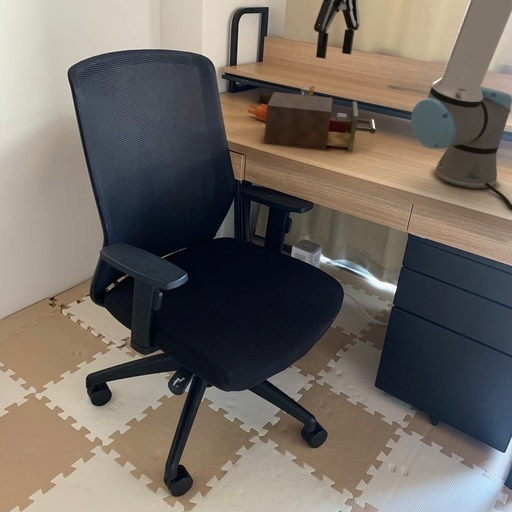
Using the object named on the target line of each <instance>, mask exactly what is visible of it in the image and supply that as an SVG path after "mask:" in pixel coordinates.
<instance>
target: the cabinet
mask: <svg viewBox="0 0 512 512" xmlns="http://www.w3.org/2000/svg"><path fill="white" fill-rule="evenodd" d="M271 95H272V97H271V99H270V101H269V103H268V104H266V105H267V114H266V121H265V129H264V130H265V131H264V140H263V141H264V144H268V145H269V144H270V145H278V146H287V147H295V148H302V149H303V148H304V149H305V148H306V149H312V150H313V149H315V150H320V151H321V150H322V151H327V146H328V145H327V139H328V131H329V124H330V117H331V116H332V107H333V97H327V96H317V95H311V96H310V95H307V94H298V93H290V92H289V93H288V92H280V91H279V92H278V91H274V92H273V94H271ZM331 118H332V117H331Z"/></svg>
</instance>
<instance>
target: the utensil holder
mask: <svg viewBox="0 0 512 512" xmlns="http://www.w3.org/2000/svg"><path fill="white" fill-rule="evenodd" d="M301 87H302V88H304V87H305V95H307V94H308V95H309V96H314V95H313V94H314V91H315V85H310V86H309V89H308V87H307V85H302V86H301ZM300 93H301V94H300V95H303V89H301V92H300Z"/></svg>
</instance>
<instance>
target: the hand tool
mask: <svg viewBox="0 0 512 512" xmlns="http://www.w3.org/2000/svg"><path fill="white" fill-rule="evenodd" d="M272 95H273V94H270V93H268V92H266V91H262V92H261V93H260V94H259V102H260V103H261V104H266V105H268V103H269V101H270V99H271V97H272Z"/></svg>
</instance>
